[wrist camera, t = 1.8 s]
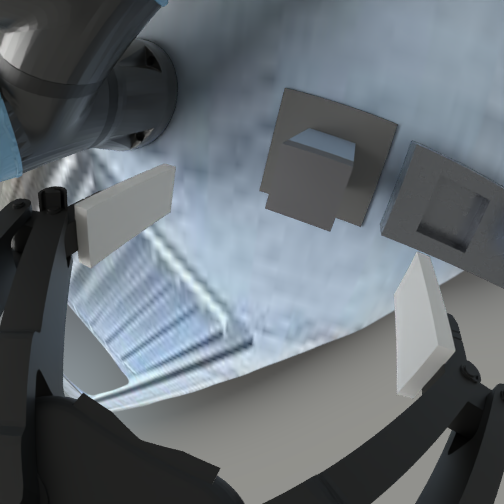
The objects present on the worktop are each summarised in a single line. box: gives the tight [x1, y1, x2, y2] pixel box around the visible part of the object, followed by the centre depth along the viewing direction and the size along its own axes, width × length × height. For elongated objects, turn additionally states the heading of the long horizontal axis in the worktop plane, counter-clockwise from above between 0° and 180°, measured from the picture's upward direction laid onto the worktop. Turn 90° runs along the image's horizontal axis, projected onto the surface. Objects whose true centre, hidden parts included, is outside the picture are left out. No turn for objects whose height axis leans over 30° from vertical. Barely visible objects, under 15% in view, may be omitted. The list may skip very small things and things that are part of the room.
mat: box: [260, 88, 398, 227], centre depth 31 cm, size 12×12×1 cm
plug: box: [265, 128, 355, 231], centre depth 26 cm, size 5×5×12 cm
